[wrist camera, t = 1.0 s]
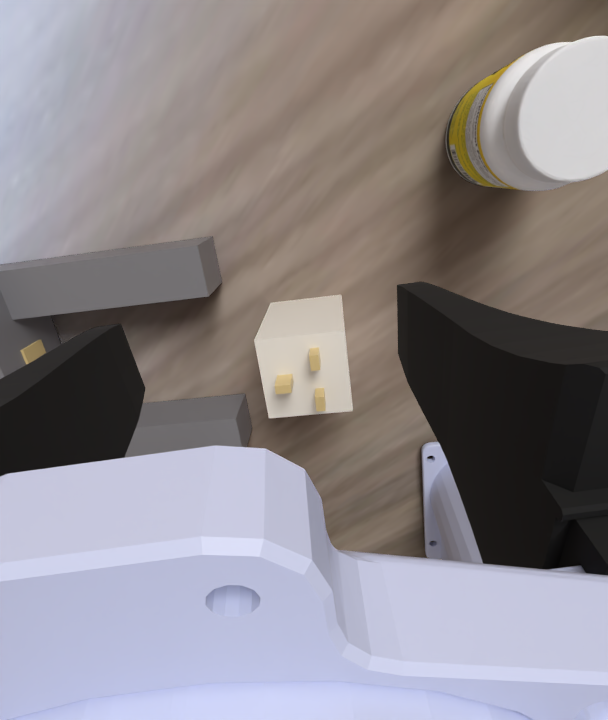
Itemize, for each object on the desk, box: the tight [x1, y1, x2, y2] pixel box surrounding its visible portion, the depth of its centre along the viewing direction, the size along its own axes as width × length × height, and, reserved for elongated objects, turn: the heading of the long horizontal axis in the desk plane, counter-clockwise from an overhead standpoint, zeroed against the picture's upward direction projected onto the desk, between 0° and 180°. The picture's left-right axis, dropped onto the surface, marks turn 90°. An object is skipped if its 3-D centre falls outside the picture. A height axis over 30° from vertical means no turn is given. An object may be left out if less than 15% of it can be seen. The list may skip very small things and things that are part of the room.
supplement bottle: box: [446, 36, 608, 191], centre depth 17 cm, size 5×5×8 cm
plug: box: [254, 295, 353, 418], centre depth 23 cm, size 4×4×7 cm
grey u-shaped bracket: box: [0, 236, 252, 458], centre depth 25 cm, size 12×12×5 cm
